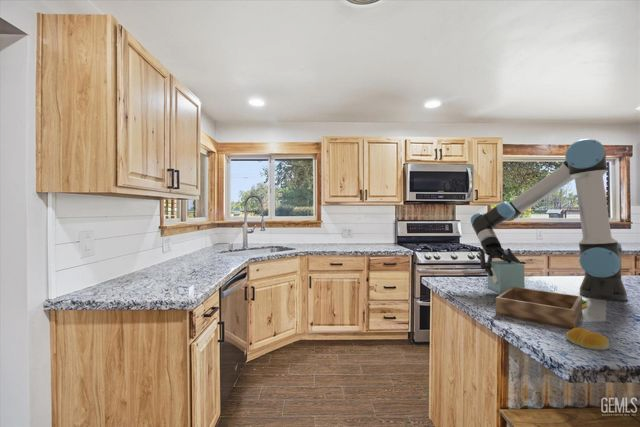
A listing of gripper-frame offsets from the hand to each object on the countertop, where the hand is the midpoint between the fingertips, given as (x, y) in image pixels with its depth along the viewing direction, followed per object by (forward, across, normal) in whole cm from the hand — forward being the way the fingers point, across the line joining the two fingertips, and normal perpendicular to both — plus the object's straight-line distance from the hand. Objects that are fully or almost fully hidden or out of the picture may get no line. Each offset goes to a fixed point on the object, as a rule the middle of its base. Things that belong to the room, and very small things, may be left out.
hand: (509, 282), depth 135 cm
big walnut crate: (+19, +2, +10) cm, 22 cm away
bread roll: (+38, +6, +27) cm, 47 cm away
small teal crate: (+1, 0, -5) cm, 5 cm away
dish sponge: (+11, -16, 0) cm, 19 cm away
